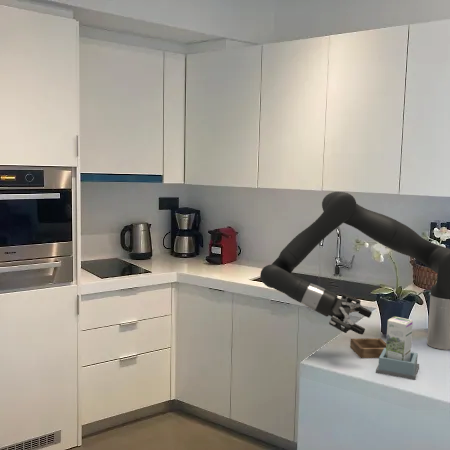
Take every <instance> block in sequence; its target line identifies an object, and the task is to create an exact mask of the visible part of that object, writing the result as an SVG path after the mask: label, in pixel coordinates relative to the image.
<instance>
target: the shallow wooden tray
mask: <svg viewBox="0 0 450 450" xmlns="http://www.w3.org/2000/svg"><path fill="white" fill-rule="evenodd" d="M349 347H350V349H351V350H352V351H353V352H354V353H355V355H357V357H359V359H379V357H380V355H381V353H382V351H383V349H384V348H386V341H384V340H383V339H382V338H380V337H379V338H377V337H376V338H373V337H372V338H367V337H366V338H350V345H349Z"/></svg>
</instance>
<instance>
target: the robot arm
mask: <svg viewBox="0 0 450 450" xmlns="http://www.w3.org/2000/svg"><path fill="white" fill-rule="evenodd" d="M321 207H322V211H323V212H322V213H321V214H320V216H319V217H318V218H316V220H315V221H313V222H312V223H311V224H310V225H309V226H307V227H306V228H305V229H304V230H302V231H301V232H300V233H298V234H297V235H296V236H295V237H293V239H291V241H289V243H288V244H287V245H285V247H284V248H283V249H282V250H281V251H280V253H279V255H278V257H277V258H276V259H275V260H274V261H273V262H272V263H271V264H268V265H266V266H264V267H263V268H262V269H261V271H260V274H259V275H260V280H261V282H262V283H263V284H264V285H265V286H266V287H268V288H270V289H274V290H276V291H278V292H280V293H283V294H284V295H286V296H287V297H289V298H290V299H292V300H294V301H296V302H298V303H301V304H303V305H304V306H305V307H307V308H309V309H310V310H312V311H315V312H316V313H318V314H321V315H322V316H325V317H330V320H329V322H328V324H329V325H330V326H332V327H334V328H336V329H337V330H339V331H340V332H342V333H344V334H347V333H348V331H352V332H354V333H356V334H358V335H361V336H362V335H364V334H365V331H366V329H365V328H364V327H362V326H361V325H359V324H357V323H355V322H353V321H352V319H350V318H351V317H350V316H349V315H350V314H352V313H358V314H360V315H362V316H363V317H366V318H368V319H370V318H371V316H372V314H373V312H372V311H371V310H370V309H368V308H366V307H364V306H362V304H361V299H358V298H356V297H354V296H351V295H349V294H347V293H343V294H342V295H341V298H338V294H336V293H334V292H332V291H330V290H328V289H325V288H324V287H322V286H320V285H317V284H314V283H311V282H309V281H307V280H305V279H303V278H301V277H298V276H296V275H294V274H292V272H293V271H294V270H295V269H296V268H297V267H298V266H299V265H300V264H301V263H302V262H303V261H304V260H305V259H306V258H307V257H308V256H309V254H311V252H312V251H314V250H315V248H317V246H318V245H319V244H320V243H321V242H323V240H325V238H327V237H328V236H329V235H330V234H331V233H332V232H333V231H335V230H336V229H337V228H339V227H340V226H341V225H342V224H345V225H348V226H350V227H352V228H354V229H356V230H358V231H359V232H361V233H363V234H364V235H365V236H367V237H368V238H370V239H372V240H374V241H375V242H377V243H378V244H380V245H382V246H384V247H385V248H388V249H390V250H392V251H394V252H396V253H400V254H402V255H404V256H408V257H410V258H413V259H415V260H416V261H418V262H419V263H422V264H423V265H424V266H426V267H428V268H429V269H431V270H432V271H433V272H434V273H436V274H437V278H436V283H435V284H434V285H432V286H431V288H430V297H429V298H430V299H429V311H428V312H429V313H428V326H427V337H426V340H427V341H426V342H427V343H426V344H427V346H429V347H431V348H433V349H439V350H445V351H446V350H447V351H450V247H445V246H441V245H439V244H436V243H433V242H431V241H429V240H427V239H426V238H424V237H422V236H421V235H419V234H418V232H416V231H415V230H413V229H412V228H411V227H409V226H407V225H406V224H404V223H402V222H400V221H399V220H397V219H395V218H393V217H390V216H387V215H385V214H383V213H380V212H376V211H373V210H370V209H367V208H365V207H363V206H361V205H360V204H358V203H357V201H356V199H355V197H354V195H352V194H351V193H348V192H344V191H332V192H330V193H328V194H327V195H325V196H324V198H323V199H322V202H321Z"/></svg>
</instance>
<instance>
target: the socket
mask: <svg viewBox="0 0 450 450" xmlns="http://www.w3.org/2000/svg"><path fill="white" fill-rule="evenodd" d="M418 354H419V352H413V351H411V355H410V362H409V361H403V360H397V359H391V358H386V348H384V349H383V351H382V353H381V355H380V357H379V358H378V365H377V366H376V369H375V373H376V374H381V375H386V376H387V375H388V376H392V377H398V378H403V379H409V380H414V381H415V380H416V378H417V375H418V372H419V369H420V363H418V357H419V355H418Z"/></svg>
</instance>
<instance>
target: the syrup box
mask: <svg viewBox="0 0 450 450" xmlns="http://www.w3.org/2000/svg"><path fill="white" fill-rule="evenodd" d="M386 323H387V327H386V341H385V343H386V358H391V359H397V360H403V361H409V362H410V355H411V352H412V341H413V340H412V339H413V338H412V337H413V326H414V325H413V323H414V321H413V319H410V318H409V319H408V318H404V317H399V316H392V317H391V318H389V319H387V322H386Z"/></svg>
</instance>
